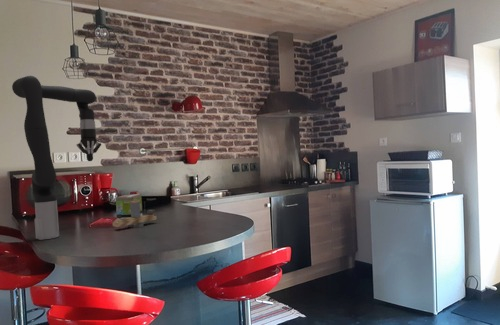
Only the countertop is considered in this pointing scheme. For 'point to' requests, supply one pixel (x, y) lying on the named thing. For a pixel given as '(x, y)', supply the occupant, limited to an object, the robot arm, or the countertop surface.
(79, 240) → the countertop surface
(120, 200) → the tea box
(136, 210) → the block
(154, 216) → the bread loaf
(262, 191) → the countertop surface
